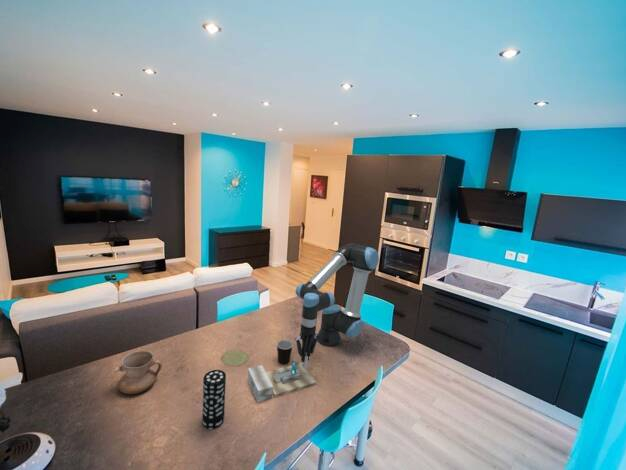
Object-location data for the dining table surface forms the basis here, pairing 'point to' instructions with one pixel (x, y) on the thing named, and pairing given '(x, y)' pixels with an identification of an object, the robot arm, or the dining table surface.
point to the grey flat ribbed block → (268, 388)
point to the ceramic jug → (137, 372)
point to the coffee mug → (284, 351)
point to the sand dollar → (234, 358)
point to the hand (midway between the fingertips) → (304, 366)
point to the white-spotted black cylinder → (213, 399)
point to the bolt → (287, 373)
